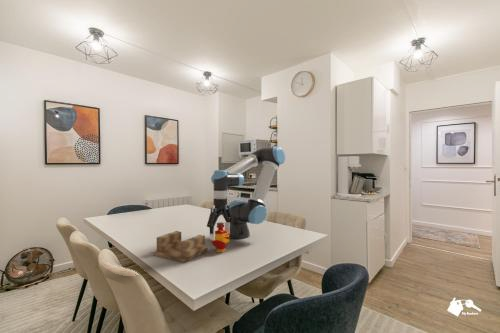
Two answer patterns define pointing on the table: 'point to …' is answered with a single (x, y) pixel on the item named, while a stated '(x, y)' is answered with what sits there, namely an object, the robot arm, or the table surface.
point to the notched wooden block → (180, 247)
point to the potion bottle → (220, 238)
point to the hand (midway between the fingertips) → (220, 236)
